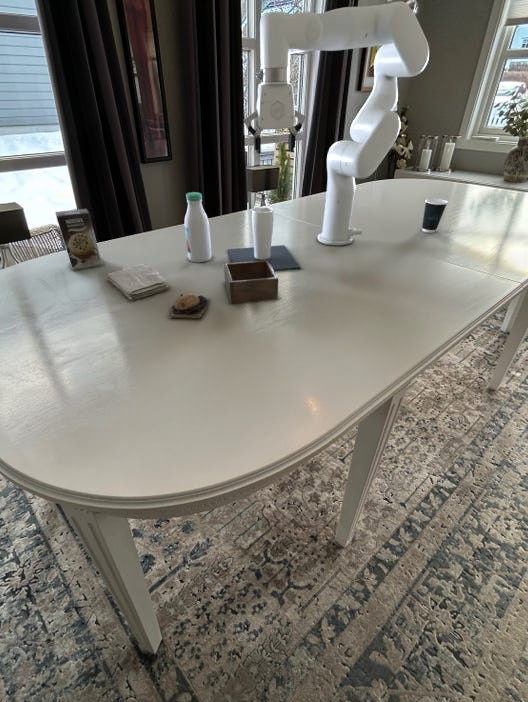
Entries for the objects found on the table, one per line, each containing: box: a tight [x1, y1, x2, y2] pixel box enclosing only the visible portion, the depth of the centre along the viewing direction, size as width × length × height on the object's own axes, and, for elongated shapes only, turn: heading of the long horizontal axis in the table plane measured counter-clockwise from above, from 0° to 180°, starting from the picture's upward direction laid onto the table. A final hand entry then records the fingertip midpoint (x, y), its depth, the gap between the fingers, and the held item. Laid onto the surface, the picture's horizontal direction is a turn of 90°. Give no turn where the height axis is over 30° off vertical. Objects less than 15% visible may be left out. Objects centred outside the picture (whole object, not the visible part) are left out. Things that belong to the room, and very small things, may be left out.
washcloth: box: [106, 263, 169, 301], centre depth 104 cm, size 12×18×3 cm, turn 39°
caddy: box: [223, 260, 279, 304], centre depth 100 cm, size 13×13×6 cm
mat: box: [227, 244, 301, 272], centre depth 120 cm, size 20×20×1 cm
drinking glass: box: [251, 206, 275, 260], centre depth 116 cm, size 7×7×15 cm
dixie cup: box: [421, 198, 449, 234], centre depth 140 cm, size 8×8×11 cm
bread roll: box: [170, 293, 208, 320], centre depth 93 cm, size 11×8×4 cm
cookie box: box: [54, 208, 103, 271], centre depth 113 cm, size 9×6×16 cm
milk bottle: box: [184, 191, 212, 263], centre depth 115 cm, size 8×8×20 cm
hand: (274, 152), depth 106 cm, fingers open, 9 cm apart
